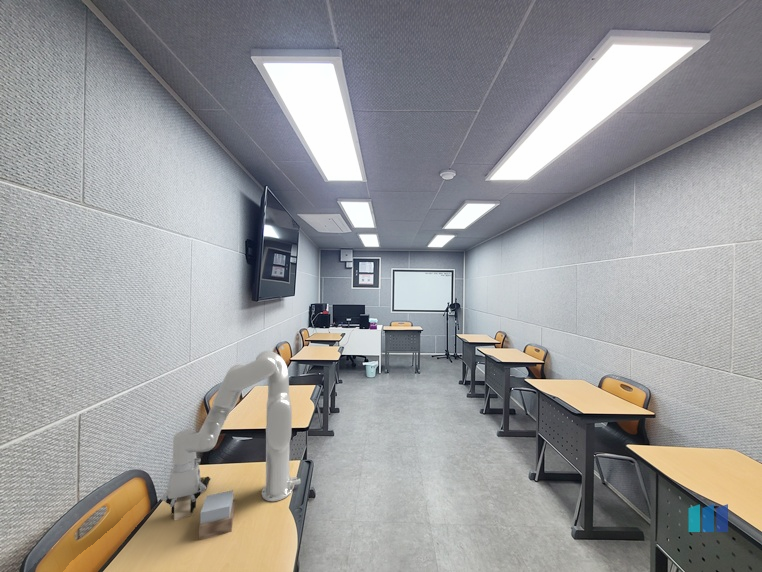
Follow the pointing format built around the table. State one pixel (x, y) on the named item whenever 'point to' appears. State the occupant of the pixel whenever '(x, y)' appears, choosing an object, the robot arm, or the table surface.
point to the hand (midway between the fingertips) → (183, 512)
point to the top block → (216, 507)
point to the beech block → (182, 507)
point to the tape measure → (204, 481)
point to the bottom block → (217, 526)
